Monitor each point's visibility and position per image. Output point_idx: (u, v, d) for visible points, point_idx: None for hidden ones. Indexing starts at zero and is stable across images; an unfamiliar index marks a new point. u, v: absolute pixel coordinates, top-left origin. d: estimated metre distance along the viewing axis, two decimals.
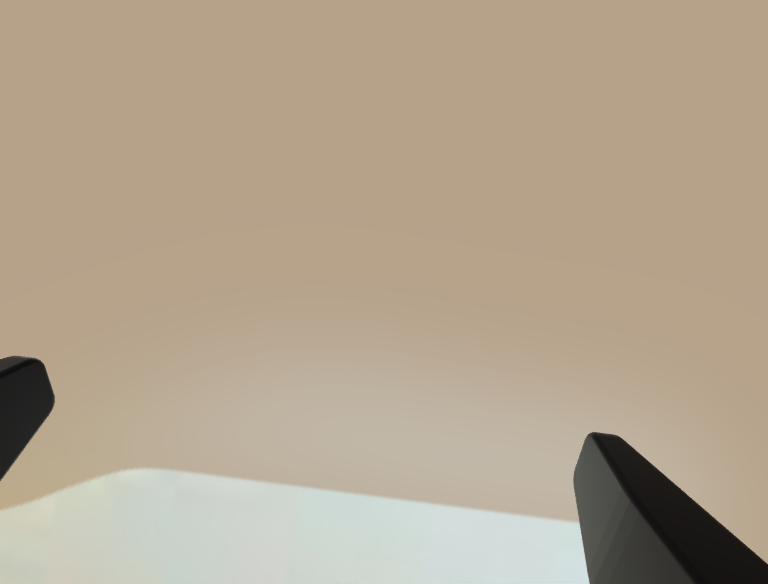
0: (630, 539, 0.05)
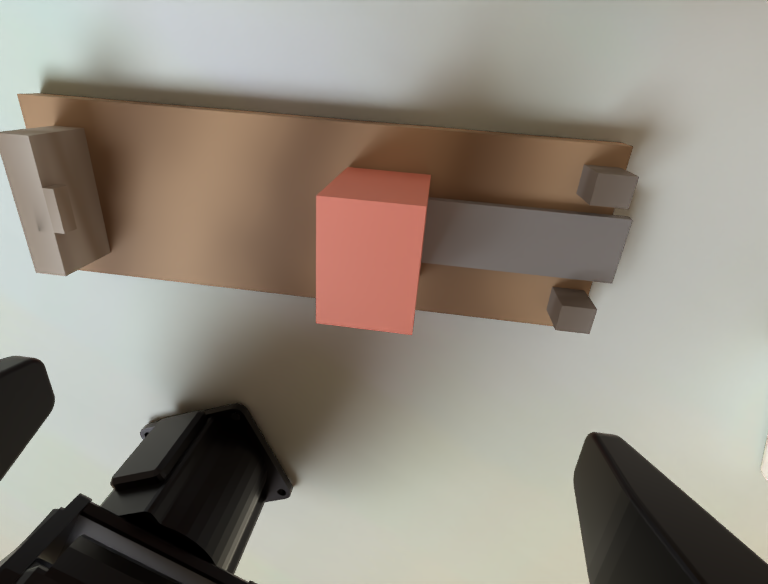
0: (630, 539, 0.05)
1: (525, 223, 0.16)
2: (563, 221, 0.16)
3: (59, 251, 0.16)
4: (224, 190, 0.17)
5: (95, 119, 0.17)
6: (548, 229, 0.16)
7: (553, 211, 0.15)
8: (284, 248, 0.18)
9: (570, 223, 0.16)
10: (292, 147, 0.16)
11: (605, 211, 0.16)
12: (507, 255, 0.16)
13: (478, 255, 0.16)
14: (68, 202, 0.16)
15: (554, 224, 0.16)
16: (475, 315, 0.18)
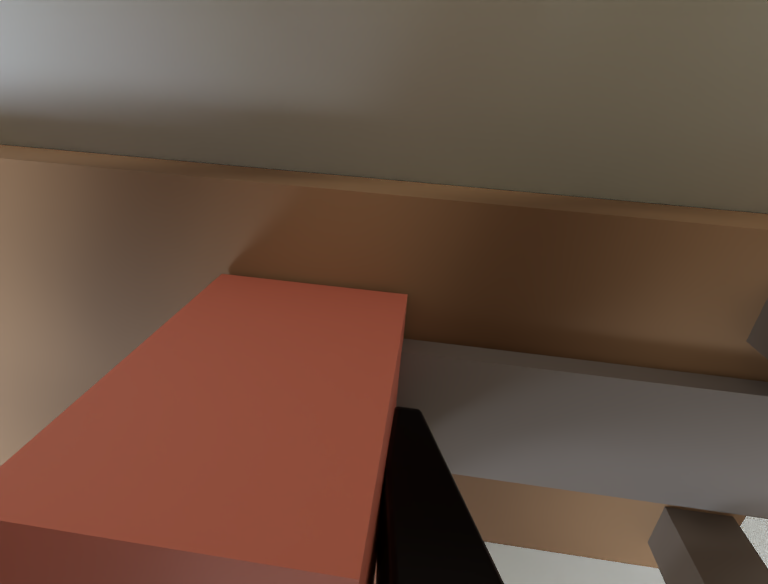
0: (382, 502, 0.05)
1: (624, 406, 0.07)
2: (717, 407, 0.07)
3: None
4: None
5: None
6: (678, 421, 0.07)
7: (694, 384, 0.07)
8: None
9: (732, 412, 0.07)
10: (99, 230, 0.07)
11: None
12: (578, 462, 0.07)
13: (513, 459, 0.08)
14: None
15: (694, 411, 0.07)
16: (502, 541, 0.09)
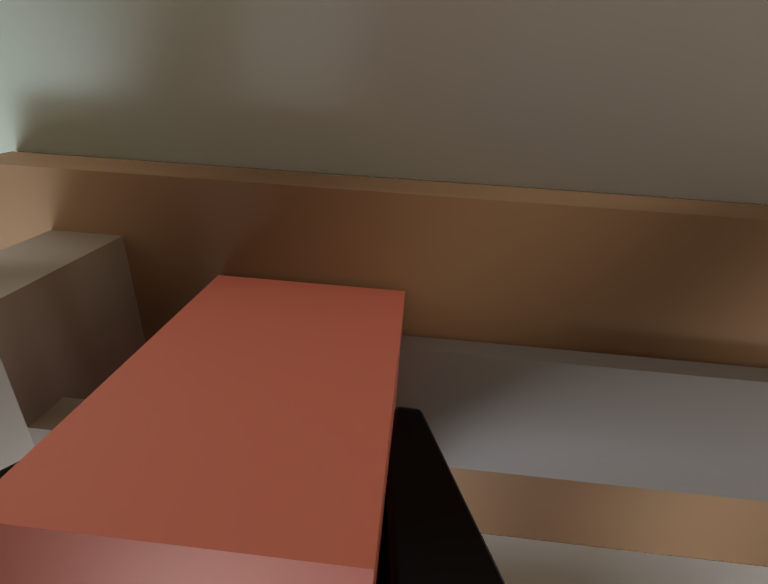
0: None
1: (620, 396, 0.07)
2: (709, 393, 0.07)
3: None
4: None
5: (152, 217, 0.07)
6: (672, 408, 0.07)
7: (686, 372, 0.07)
8: None
9: (725, 397, 0.07)
10: (640, 278, 0.07)
11: None
12: (575, 452, 0.08)
13: (512, 451, 0.08)
14: None
15: (687, 398, 0.07)
16: None
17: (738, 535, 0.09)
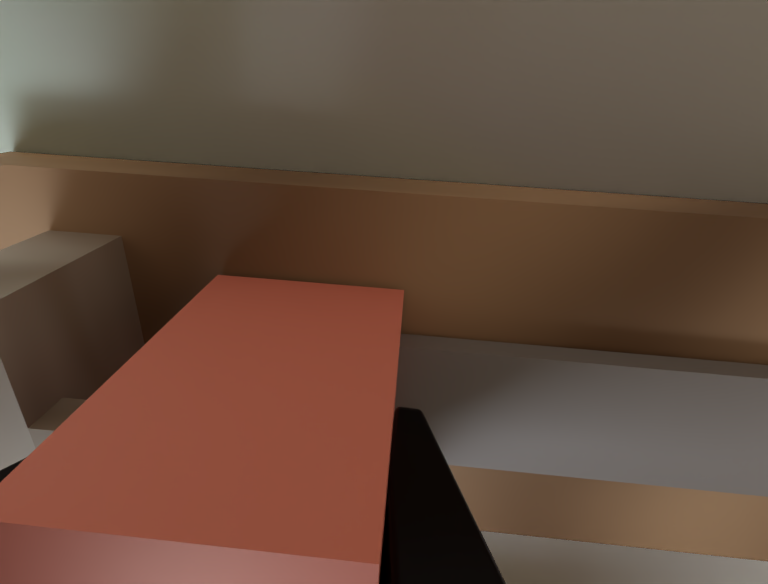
0: None
1: (617, 392, 0.07)
2: (705, 389, 0.07)
3: None
4: None
5: (150, 217, 0.07)
6: (669, 404, 0.07)
7: (683, 368, 0.07)
8: None
9: (720, 393, 0.07)
10: (637, 276, 0.07)
11: None
12: (573, 449, 0.08)
13: (511, 448, 0.08)
14: None
15: (683, 394, 0.07)
16: None
17: (733, 530, 0.09)
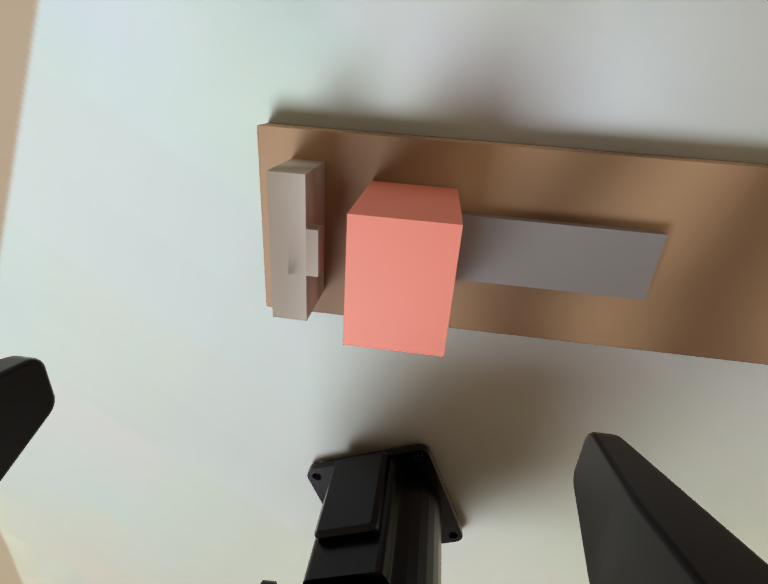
0: (630, 539, 0.05)
1: (555, 238, 0.15)
2: (595, 236, 0.15)
3: (306, 295, 0.15)
4: None
5: (340, 152, 0.15)
6: (579, 245, 0.15)
7: (585, 226, 0.15)
8: (524, 287, 0.17)
9: (602, 238, 0.15)
10: (560, 182, 0.15)
11: None
12: (536, 271, 0.16)
13: (506, 271, 0.16)
14: (321, 243, 0.15)
15: (586, 239, 0.15)
16: (725, 358, 0.17)
17: (619, 328, 0.17)
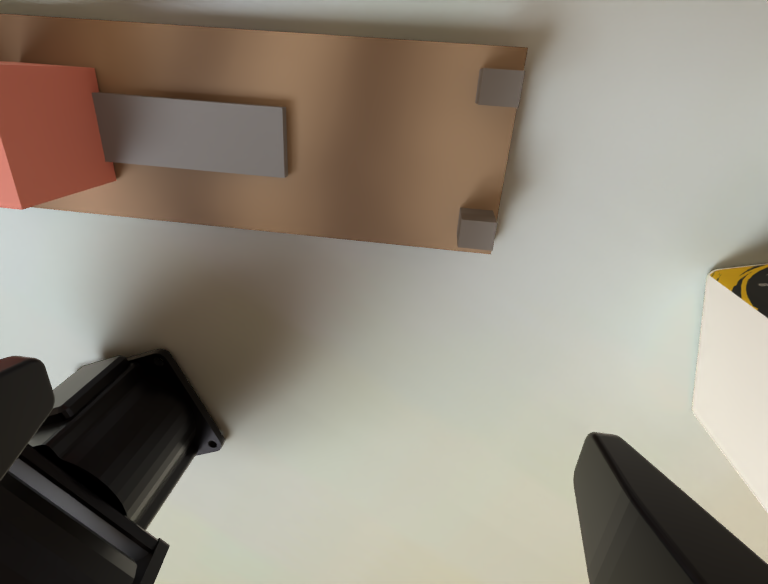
0: (630, 539, 0.05)
1: (186, 115, 0.16)
2: (220, 111, 0.16)
3: None
4: None
5: None
6: (209, 121, 0.16)
7: (209, 101, 0.16)
8: (186, 172, 0.17)
9: (227, 113, 0.16)
10: (183, 58, 0.16)
11: (506, 121, 0.15)
12: (180, 151, 0.16)
13: (155, 152, 0.17)
14: None
15: (213, 115, 0.16)
16: (385, 241, 0.17)
17: (283, 213, 0.17)
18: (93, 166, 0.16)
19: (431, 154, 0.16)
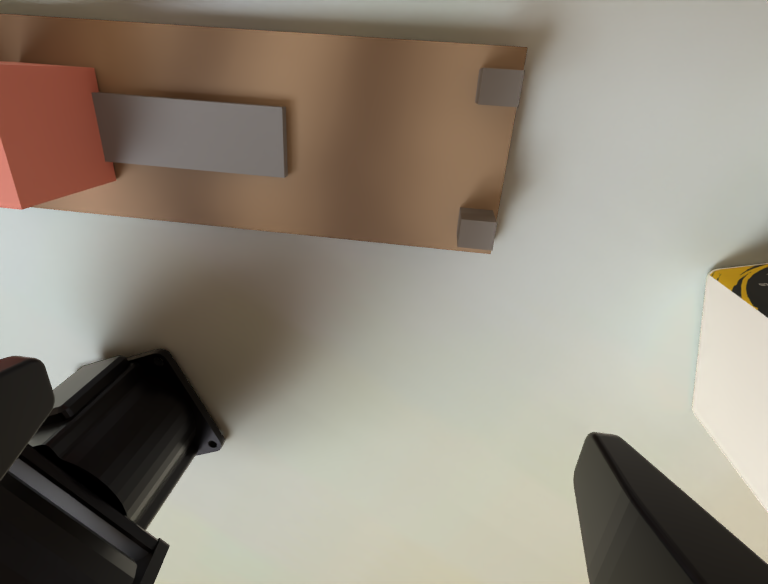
0: (630, 539, 0.05)
1: (186, 115, 0.16)
2: (220, 111, 0.16)
3: None
4: None
5: None
6: (209, 121, 0.16)
7: (209, 101, 0.16)
8: (186, 172, 0.17)
9: (227, 113, 0.16)
10: (183, 58, 0.15)
11: (505, 121, 0.15)
12: (180, 150, 0.16)
13: (154, 151, 0.17)
14: None
15: (213, 115, 0.16)
16: (385, 241, 0.17)
17: (283, 213, 0.17)
18: (93, 166, 0.16)
19: (431, 154, 0.16)
